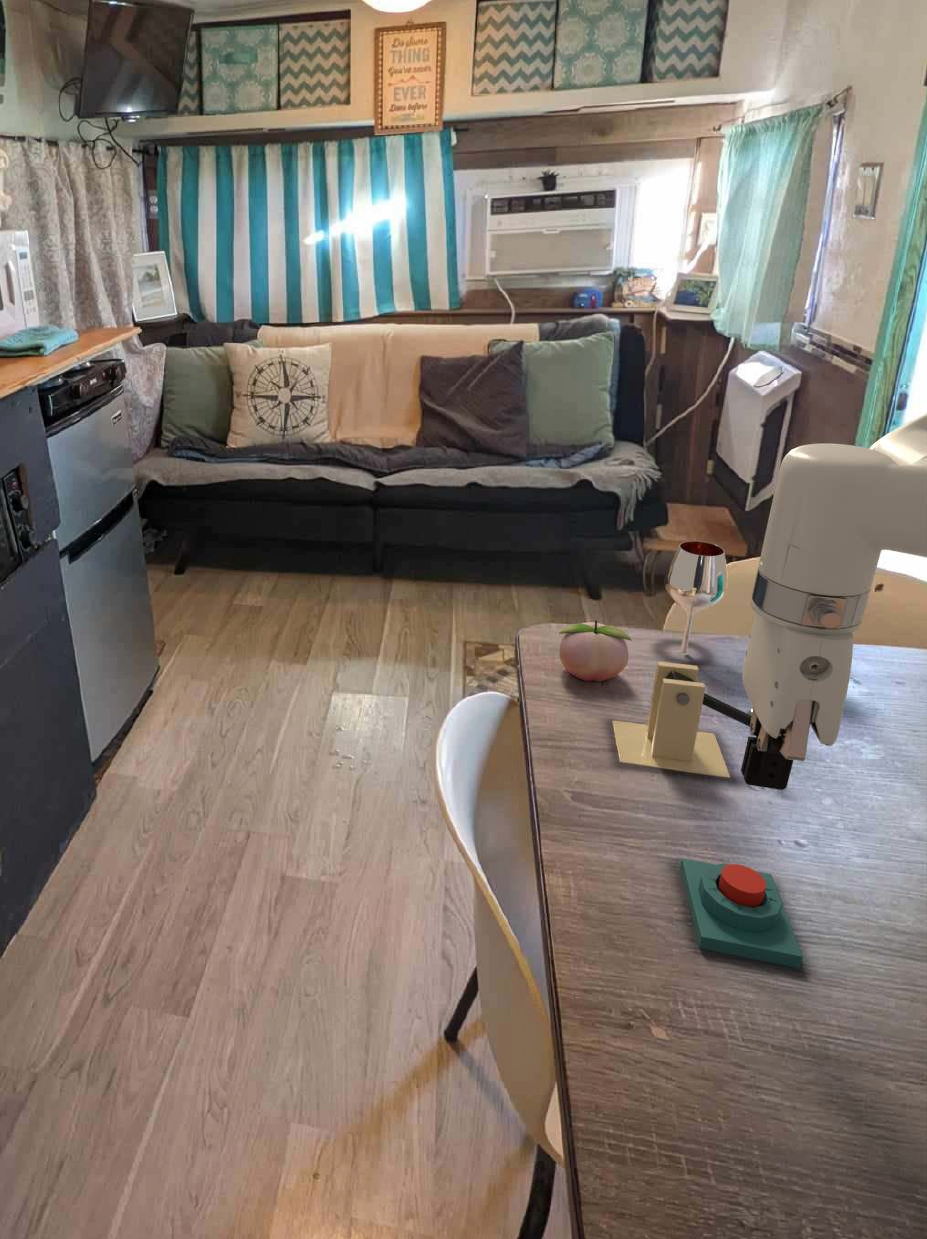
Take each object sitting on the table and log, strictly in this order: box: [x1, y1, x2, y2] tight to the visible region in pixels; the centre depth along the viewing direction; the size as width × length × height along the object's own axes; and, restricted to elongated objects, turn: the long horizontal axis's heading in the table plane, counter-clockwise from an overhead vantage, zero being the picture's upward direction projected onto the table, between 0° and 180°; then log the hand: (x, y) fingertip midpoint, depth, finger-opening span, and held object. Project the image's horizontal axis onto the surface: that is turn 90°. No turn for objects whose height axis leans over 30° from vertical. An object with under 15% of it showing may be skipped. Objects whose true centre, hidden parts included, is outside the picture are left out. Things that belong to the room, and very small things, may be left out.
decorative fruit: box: [558, 619, 632, 683], centre depth 116 cm, size 9×8×10 cm
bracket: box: [611, 661, 731, 779], centre depth 100 cm, size 12×9×12 cm
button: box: [719, 863, 766, 907], centre depth 76 cm, size 4×4×2 cm
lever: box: [661, 670, 753, 728], centre depth 97 cm, size 12×5×2 cm, turn 72°
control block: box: [679, 858, 803, 969], centre depth 77 cm, size 8×10×4 cm
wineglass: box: [663, 540, 729, 656], centre depth 120 cm, size 8×8×18 cm
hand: (762, 781), depth 72 cm, fingers closed
